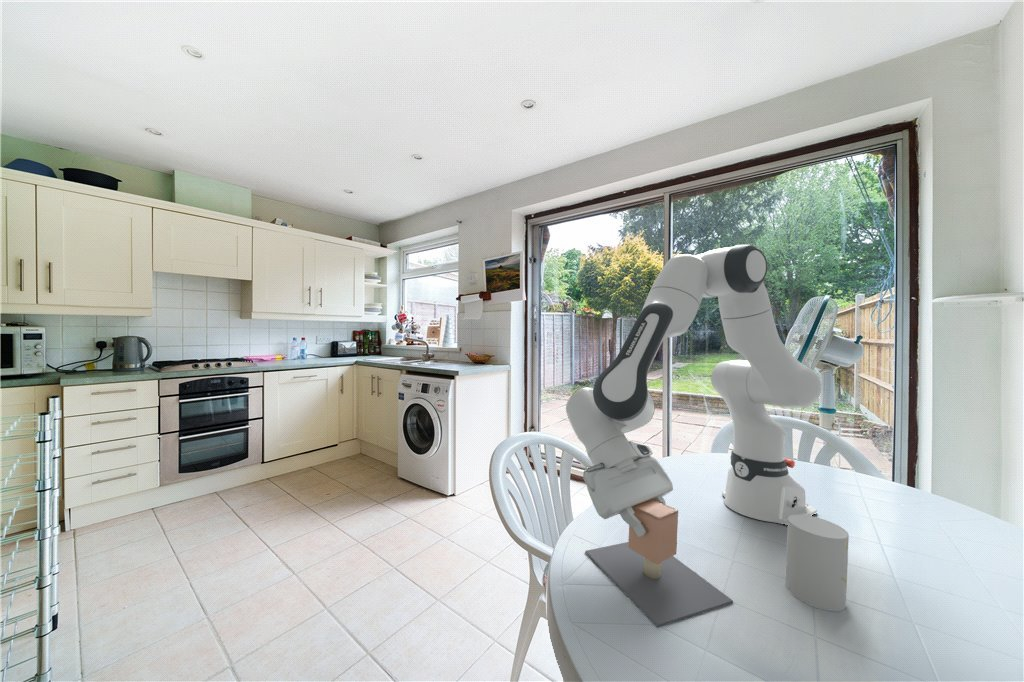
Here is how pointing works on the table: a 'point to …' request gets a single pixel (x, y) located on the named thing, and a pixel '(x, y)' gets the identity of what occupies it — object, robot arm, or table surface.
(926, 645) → the table surface
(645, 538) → the light orange rectangular block
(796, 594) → the white oval cylinder
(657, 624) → the mat
